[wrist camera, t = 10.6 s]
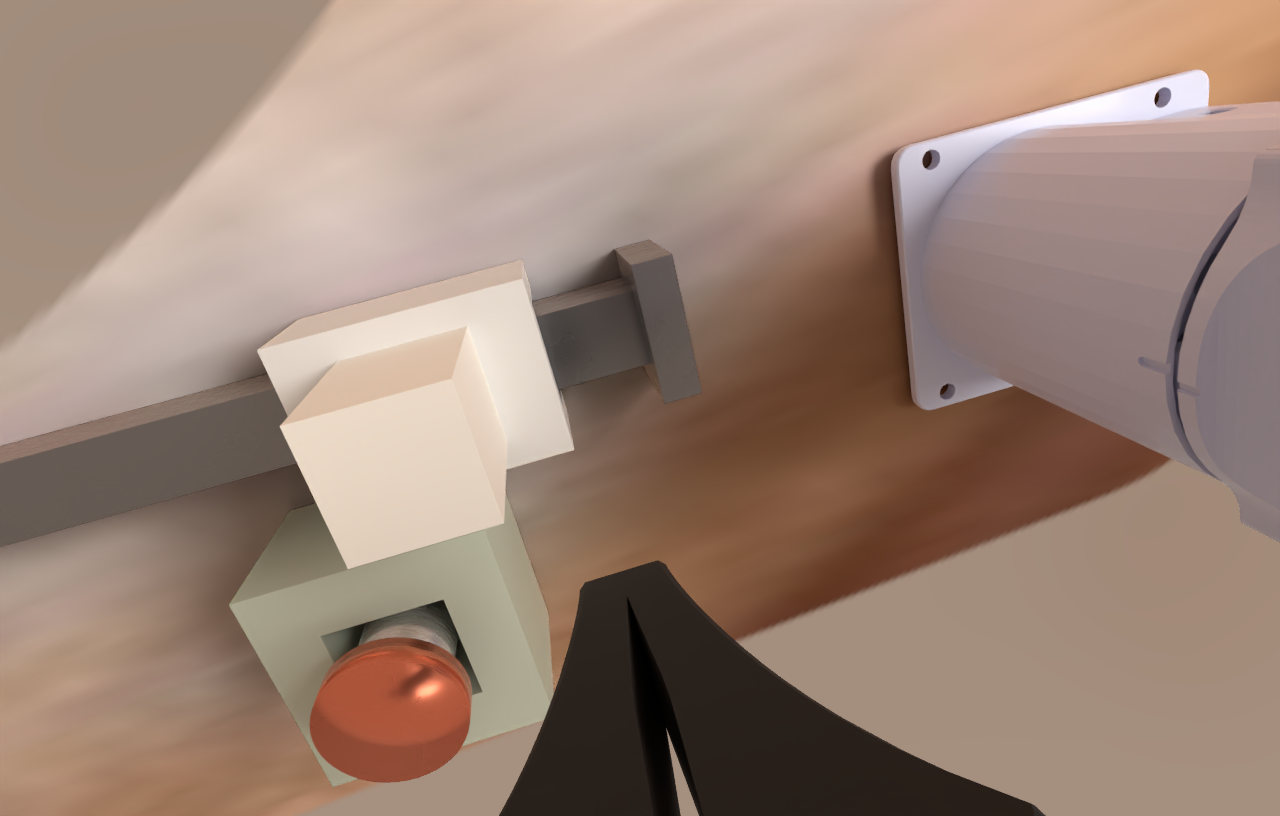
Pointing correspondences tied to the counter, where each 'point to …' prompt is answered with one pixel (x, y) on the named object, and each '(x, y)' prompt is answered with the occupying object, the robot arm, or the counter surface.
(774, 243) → the counter surface
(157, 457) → the rail
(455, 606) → the box
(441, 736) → the red push knob
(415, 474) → the carriage
